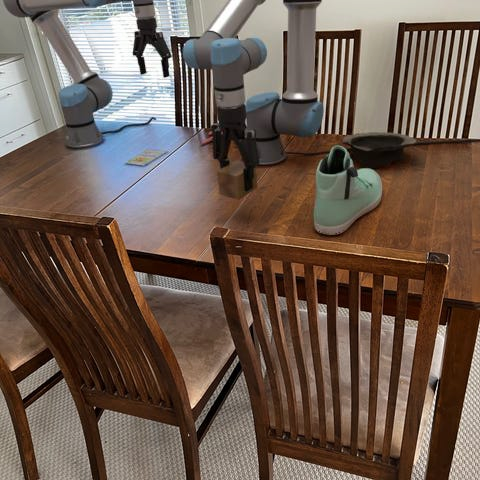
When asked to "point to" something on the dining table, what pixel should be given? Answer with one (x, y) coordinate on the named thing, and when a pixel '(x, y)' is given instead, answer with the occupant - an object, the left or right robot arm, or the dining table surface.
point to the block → (234, 180)
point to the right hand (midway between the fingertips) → (238, 186)
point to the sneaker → (343, 192)
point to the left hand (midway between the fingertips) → (154, 75)
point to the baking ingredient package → (145, 157)
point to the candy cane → (208, 139)
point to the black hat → (378, 147)
